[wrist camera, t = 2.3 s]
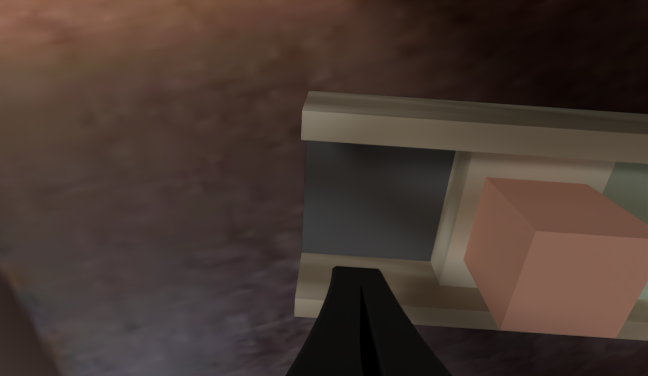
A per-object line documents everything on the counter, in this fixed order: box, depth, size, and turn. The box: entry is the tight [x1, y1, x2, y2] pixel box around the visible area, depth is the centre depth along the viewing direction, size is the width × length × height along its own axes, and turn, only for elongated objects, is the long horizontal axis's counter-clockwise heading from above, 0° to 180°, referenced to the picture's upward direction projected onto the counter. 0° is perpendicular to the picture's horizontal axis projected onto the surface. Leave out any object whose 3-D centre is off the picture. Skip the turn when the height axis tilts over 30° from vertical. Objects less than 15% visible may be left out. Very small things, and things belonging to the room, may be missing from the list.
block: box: [463, 177, 648, 338], centre depth 14 cm, size 4×4×4 cm
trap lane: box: [295, 91, 648, 341], centre depth 16 cm, size 9×26×4 cm, turn 86°
